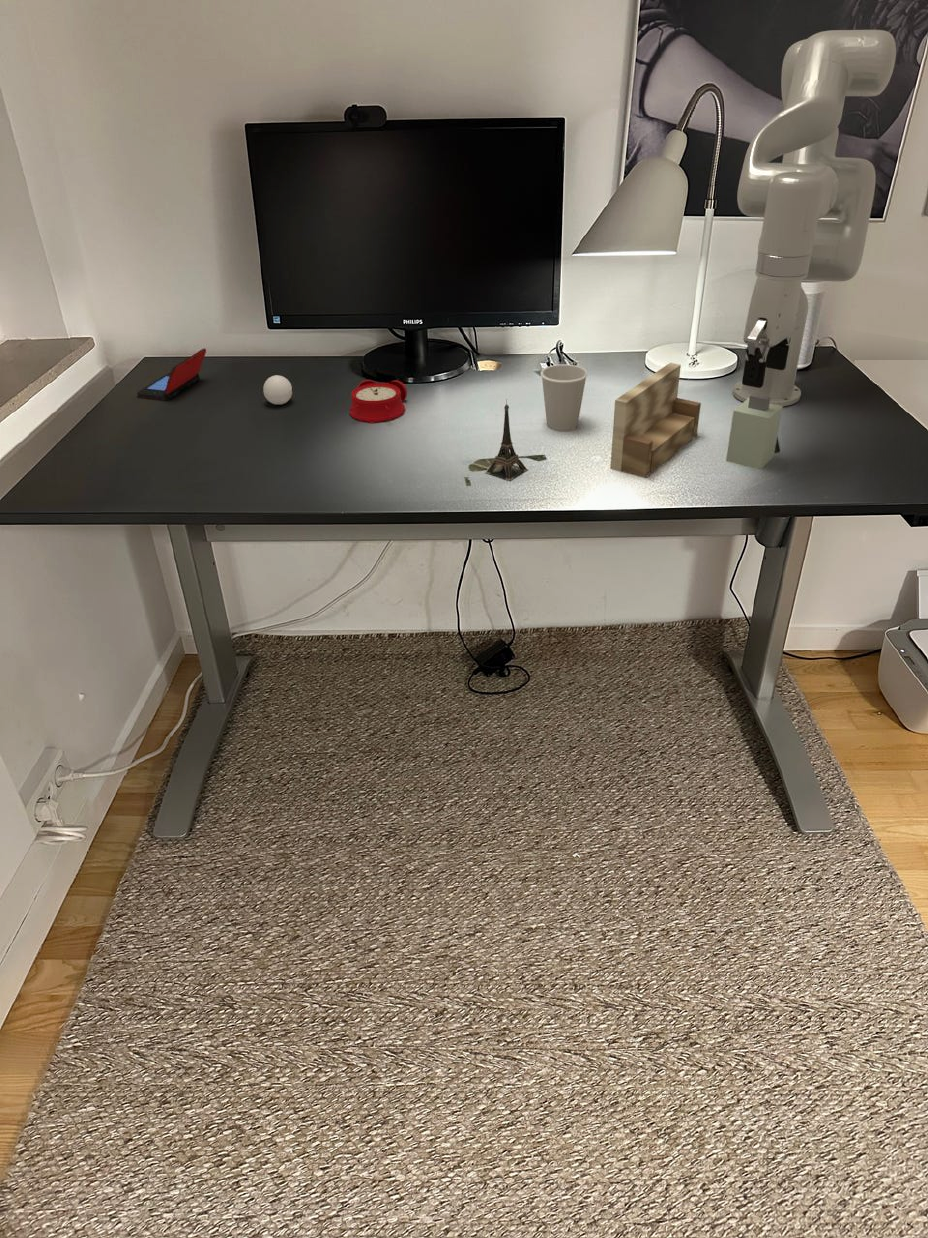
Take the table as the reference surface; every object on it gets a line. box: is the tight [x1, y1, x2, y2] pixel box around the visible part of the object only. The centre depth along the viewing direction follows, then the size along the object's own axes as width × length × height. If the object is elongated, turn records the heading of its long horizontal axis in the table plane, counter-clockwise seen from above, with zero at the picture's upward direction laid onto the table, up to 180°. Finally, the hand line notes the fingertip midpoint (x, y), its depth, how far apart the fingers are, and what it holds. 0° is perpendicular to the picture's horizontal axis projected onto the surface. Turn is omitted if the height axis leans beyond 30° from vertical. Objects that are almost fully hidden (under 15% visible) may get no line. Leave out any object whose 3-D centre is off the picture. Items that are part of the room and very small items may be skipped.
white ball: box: [262, 374, 294, 406], centre depth 179 cm, size 8×6×6 cm
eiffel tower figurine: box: [463, 398, 548, 487], centre depth 149 cm, size 15×10×13 cm
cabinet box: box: [725, 394, 784, 470], centre depth 150 cm, size 6×6×11 cm
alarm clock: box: [349, 379, 408, 425], centre depth 175 cm, size 11×6×15 cm
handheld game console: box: [136, 348, 207, 402], centre depth 185 cm, size 12×11×7 cm
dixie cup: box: [540, 363, 588, 432], centre depth 164 cm, size 8×8×10 cm
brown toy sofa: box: [609, 362, 702, 478], centre depth 153 cm, size 20×6×12 cm, turn 144°
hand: (763, 376), depth 145 cm, fingers open, 9 cm apart
